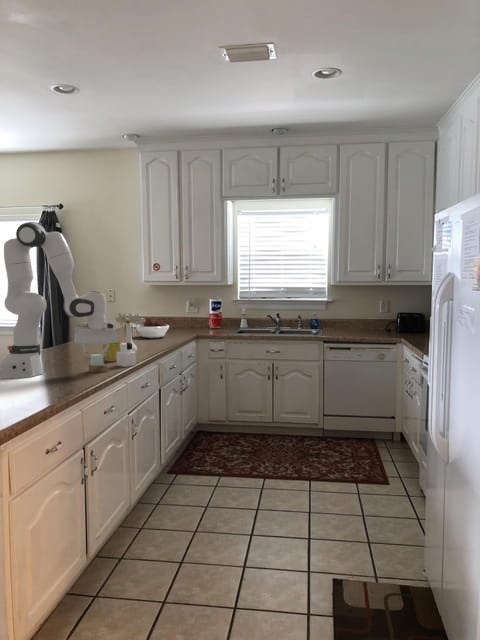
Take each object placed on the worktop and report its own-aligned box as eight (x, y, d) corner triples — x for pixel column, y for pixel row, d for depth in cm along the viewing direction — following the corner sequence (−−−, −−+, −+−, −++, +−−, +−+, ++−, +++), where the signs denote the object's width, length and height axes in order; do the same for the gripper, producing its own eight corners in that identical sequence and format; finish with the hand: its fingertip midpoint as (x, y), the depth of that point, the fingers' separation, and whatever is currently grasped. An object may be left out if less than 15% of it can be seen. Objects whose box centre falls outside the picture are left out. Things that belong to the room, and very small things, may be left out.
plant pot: (115, 358, 290) (115, 341, 289) (125, 360, 283) (125, 343, 282) (99, 360, 283) (99, 342, 282) (109, 362, 275) (108, 344, 275)
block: (92, 373, 245) (92, 367, 245) (89, 370, 251) (88, 364, 251) (107, 371, 249) (107, 365, 249) (103, 369, 255) (103, 363, 255)
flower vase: (143, 356, 299) (143, 313, 296) (112, 355, 299) (111, 313, 297) (147, 352, 312) (147, 312, 309) (117, 352, 312) (117, 311, 310)
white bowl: (137, 336, 399) (137, 316, 397) (169, 335, 401) (169, 316, 400) (134, 340, 374) (134, 319, 373) (168, 339, 377) (168, 319, 375)
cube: (93, 366, 248) (93, 356, 247) (90, 364, 252) (90, 354, 251) (103, 365, 250) (103, 355, 250) (100, 363, 255) (100, 353, 254)
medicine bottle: (127, 363, 272) (127, 341, 271) (136, 365, 268) (135, 342, 267) (116, 365, 267) (116, 342, 266) (125, 367, 262) (124, 344, 261)
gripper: (76, 324, 241) (75, 353, 241) (118, 325, 252) (117, 352, 252) (73, 323, 246) (72, 352, 247) (114, 324, 257) (113, 351, 258)
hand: (95, 352), depth 250 cm, fingers open, 8 cm apart
